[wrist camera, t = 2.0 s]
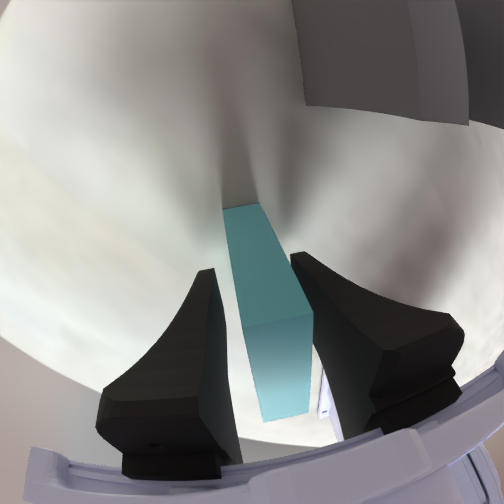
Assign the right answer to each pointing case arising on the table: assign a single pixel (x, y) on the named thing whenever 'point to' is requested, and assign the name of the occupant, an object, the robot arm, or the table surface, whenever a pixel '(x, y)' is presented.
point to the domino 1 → (270, 314)
